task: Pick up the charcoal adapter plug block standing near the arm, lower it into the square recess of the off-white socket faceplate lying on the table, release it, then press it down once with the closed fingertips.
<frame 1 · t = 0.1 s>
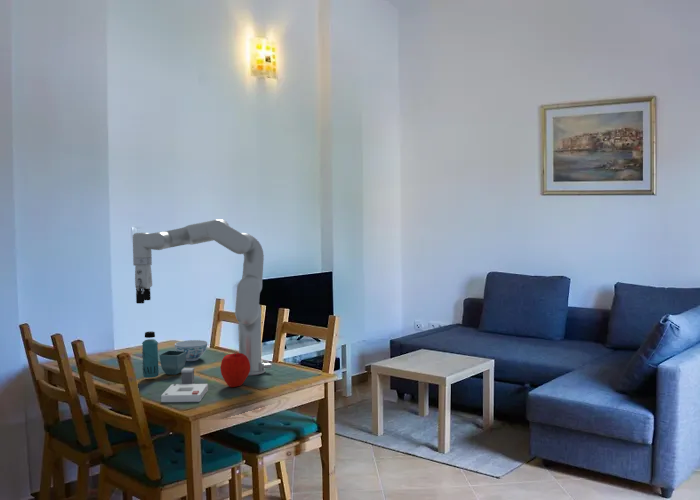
hand: (143, 301, 294), 31 cm above the table, tool pointing down, fingers open, 9 cm apart
chinaware: (191, 359, 324), on the table
apple: (235, 386, 274), on the table
beverage bottle: (150, 379, 287), on the table
flower pot: (173, 373, 297), on the table
socket plate: (185, 395, 261), on the table
plug: (188, 386, 275), on the table
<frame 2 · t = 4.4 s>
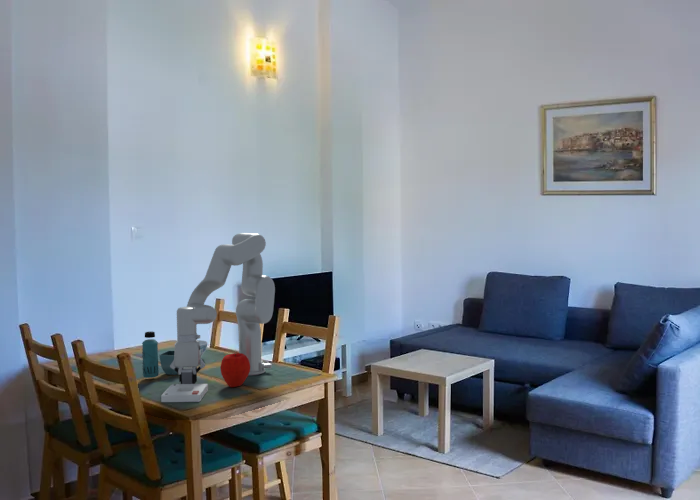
hand: (188, 383, 275), 1 cm above the table, tool pointing down, fingers closed on plug, 4 cm apart
plug: (188, 386, 275), on the table, touching gripper
everything else where it was.
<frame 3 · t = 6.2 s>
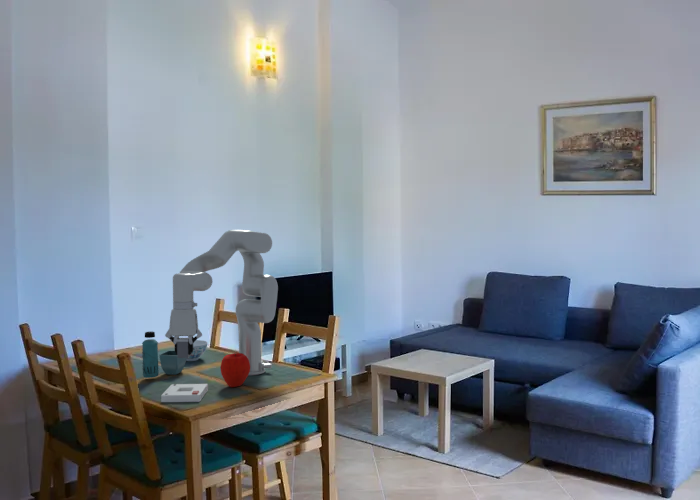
hand: (184, 353, 262), 16 cm above the table, tool pointing down, fingers closed on plug, 4 cm apart
plug: (184, 356, 262), point 15 cm above the table, touching gripper
everything else where it was.
when the fingers open (3 cm above the table, at t = 8.4 s): plug drops 1 cm, resting on socket plate.
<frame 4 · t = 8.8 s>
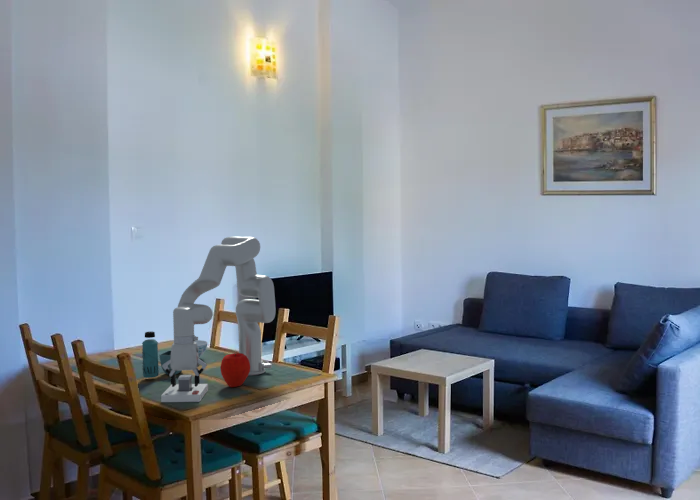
hand: (185, 385, 261), 4 cm above the table, tool pointing down, fingers open, 8 cm apart
plug: (185, 394, 261), resting on socket plate
everything else where it was.
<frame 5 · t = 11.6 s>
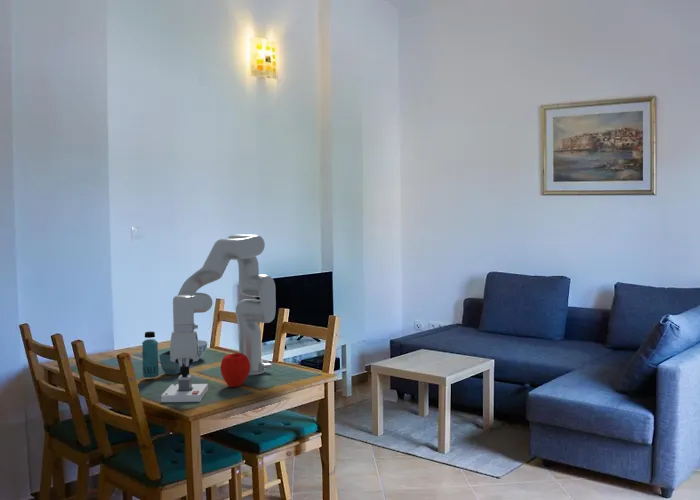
hand: (184, 376, 260), 8 cm above the table, tool pointing down, fingers closed
plug: (185, 394, 261), resting on socket plate, touching gripper
everything else where it was.
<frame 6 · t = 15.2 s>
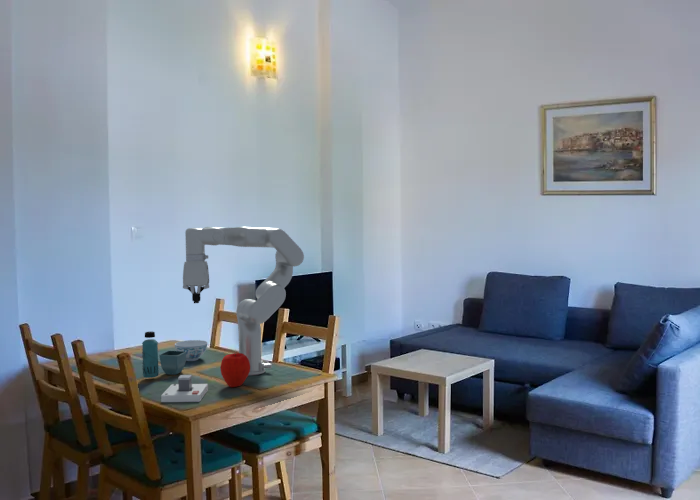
hand: (196, 302, 283), 32 cm above the table, tool pointing down, fingers closed
plug: (185, 394, 261), resting on socket plate
everything else where it was.
at the end: plug 0.0 cm off-centre on the socket plate, point 0.5 cm above the socket plate's base; plug tilted 0°; the gripper is holding nothing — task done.
